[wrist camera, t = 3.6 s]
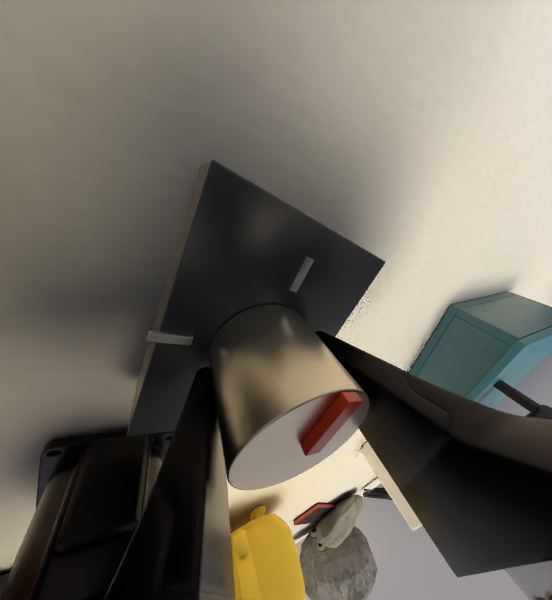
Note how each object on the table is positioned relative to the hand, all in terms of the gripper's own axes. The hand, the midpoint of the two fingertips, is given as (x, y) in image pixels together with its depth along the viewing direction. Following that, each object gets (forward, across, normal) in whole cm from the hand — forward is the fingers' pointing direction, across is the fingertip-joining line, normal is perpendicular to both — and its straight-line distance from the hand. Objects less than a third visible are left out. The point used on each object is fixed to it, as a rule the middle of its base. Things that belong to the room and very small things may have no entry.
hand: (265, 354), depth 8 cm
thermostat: (+4, 0, 0) cm, 4 cm away
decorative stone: (-7, -12, +84) cm, 85 cm away
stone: (-2, -9, +68) cm, 69 cm away
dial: (0, 0, 0) cm, 0 cm away
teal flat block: (+4, -26, +14) cm, 29 cm away
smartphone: (+4, -10, +63) cm, 64 cm away
